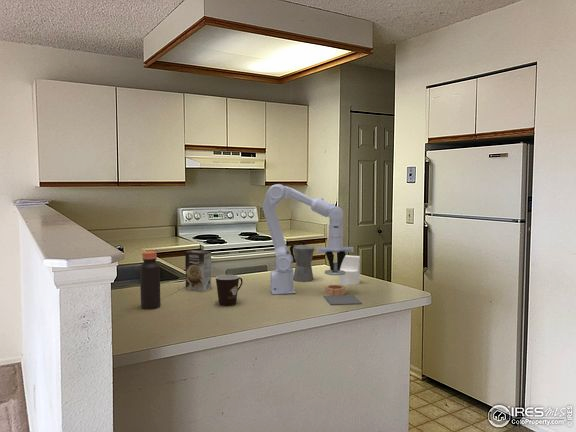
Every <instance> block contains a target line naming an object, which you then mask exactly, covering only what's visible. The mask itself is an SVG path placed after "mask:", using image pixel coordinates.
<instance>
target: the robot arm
mask: <svg viewBox="0 0 576 432" xmlns="http://www.w3.org/2000/svg"><path fill="white" fill-rule="evenodd" d="M282 199H285V200H286V199H293V200H295V201H298V202H299V203H300V202H301V203H303V204H304V205H307V206H309V207H310V209H311V211H312V212H314V213H316V214H318V215H320V216H322V217H325V218H328V219H329V224H328V246H324V247H322V246H321V247H317V249H316V251H317V253H318V254H321V253H324V254H325V256H326V258H327V261H328V263H329V264H328V265H329V270H331V271H333V263H334V260H335V259H334V258H335V255H334V253H336V259H337V261H336V263H338V271H339V270H340V268H341V264H342V261H343V259H344V257H345V255H347V254H346V253H354V247H353V246H344V245H343V244H344V243H343V242H344V238H343V237H344V225H343V223H344V221H343V219H344V216H345V215H344V211H343V209H342V208H341V207H339V206H338V205H335V204H334V203H330V202H328V201H326V200H325V198H323V197H321V198H320V197H316V198H312V197H311V196H309V195H306V194H304V193H302V192H300V191H299V190H296V189H295V188H292V187H290V186H286V185H285V186H284V185H283V184H282V183H278V184H273V185H271V186H270V187H269V188H268V190H267V191H266V192H265V198H264V201H263V204H262V211H263V215H264V217H265V221H266V224H267V228H268V231H269V234H270V238H271V241H272V245H273V248H274V255H275V260H276V261H275V267H276V268H275V269H274V270H271V271H270V277H269V278H270V280H269V281H270V284H269V290H270V292H271V294H272V295H281V294H282V295H283V294H285V295H286V294H296V291H295V289H294V279H293V278H294V268H293V266H292V265H293V263H294V262H293V257H292V255H291V253H290V250H289V248H288V246H287V244H286V241H285V237H284V234H283V231H282V227H281V224H280V221H279V218H278V214H277V211H276V208H277V206H278V205H279V203H280V201H282Z"/></svg>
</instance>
